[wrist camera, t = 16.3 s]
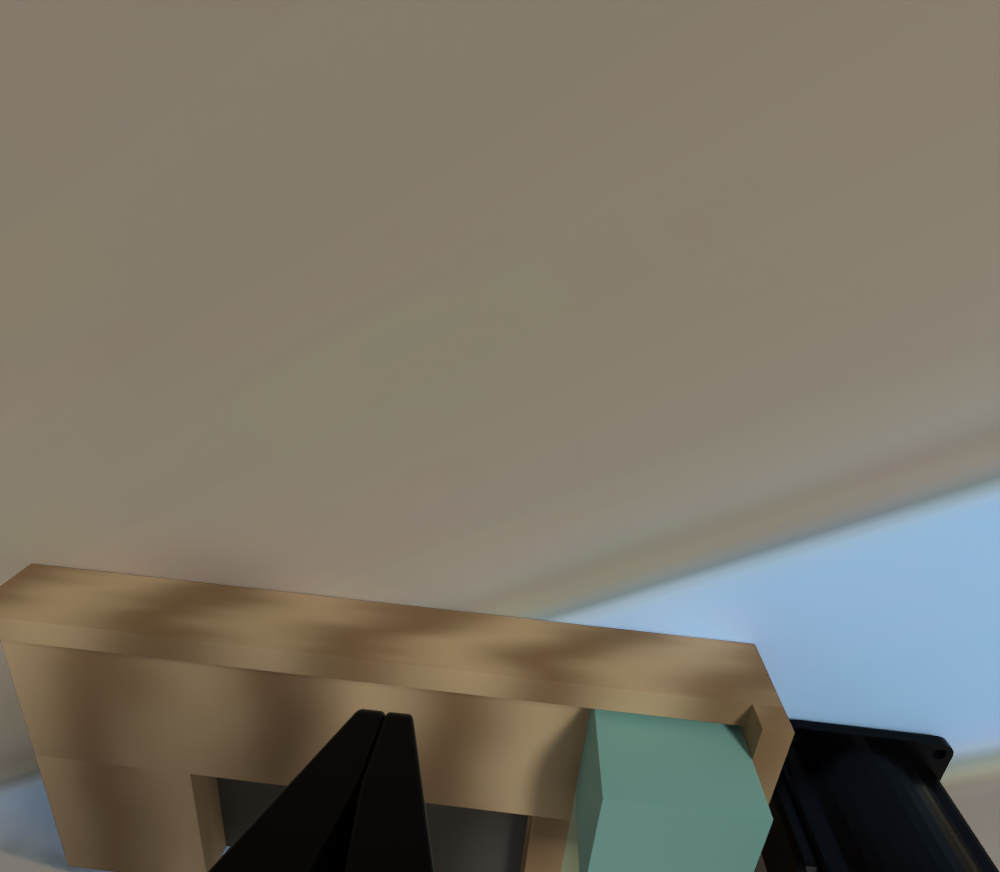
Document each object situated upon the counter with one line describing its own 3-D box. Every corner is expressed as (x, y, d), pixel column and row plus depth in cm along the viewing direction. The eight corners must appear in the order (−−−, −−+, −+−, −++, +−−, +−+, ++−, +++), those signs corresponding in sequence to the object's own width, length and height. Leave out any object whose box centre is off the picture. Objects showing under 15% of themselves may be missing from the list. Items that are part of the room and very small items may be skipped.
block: (734, 710, 22) (773, 819, 18) (705, 807, 24) (734, 923, 20) (593, 694, 22) (603, 798, 18) (575, 792, 24) (580, 904, 20)
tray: (754, 643, 23) (795, 732, 19) (673, 909, 29) (692, 1014, 25) (30, 563, 24) (-64, 633, 20) (101, 836, 30) (39, 928, 26)
